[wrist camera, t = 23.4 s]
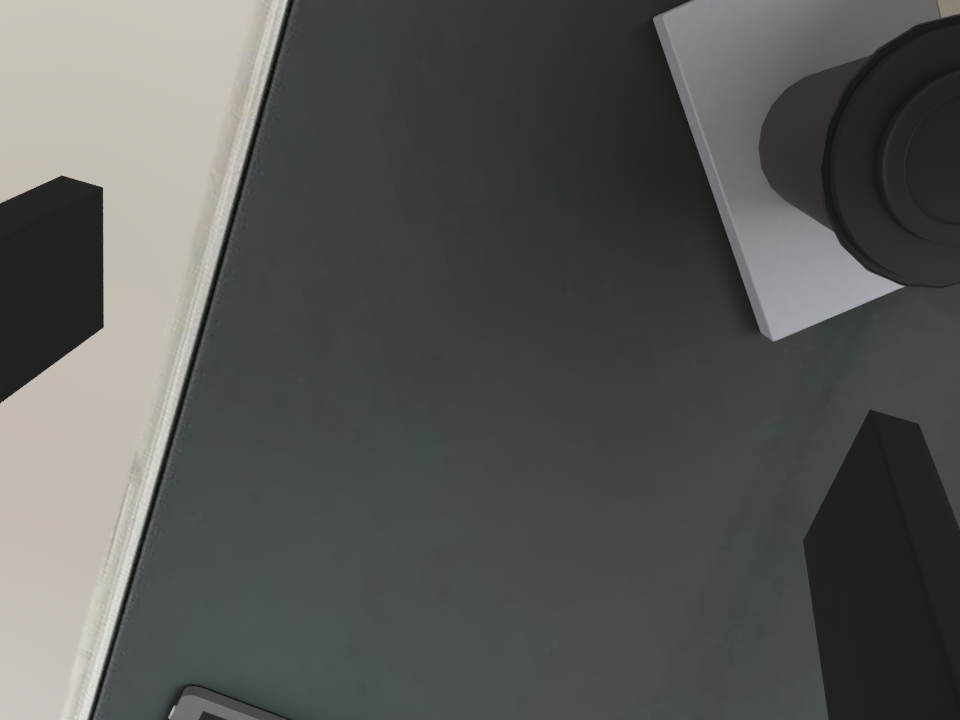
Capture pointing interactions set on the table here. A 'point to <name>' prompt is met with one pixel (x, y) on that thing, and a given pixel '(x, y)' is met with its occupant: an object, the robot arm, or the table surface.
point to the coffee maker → (737, 127)
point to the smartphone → (214, 707)
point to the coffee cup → (879, 154)
